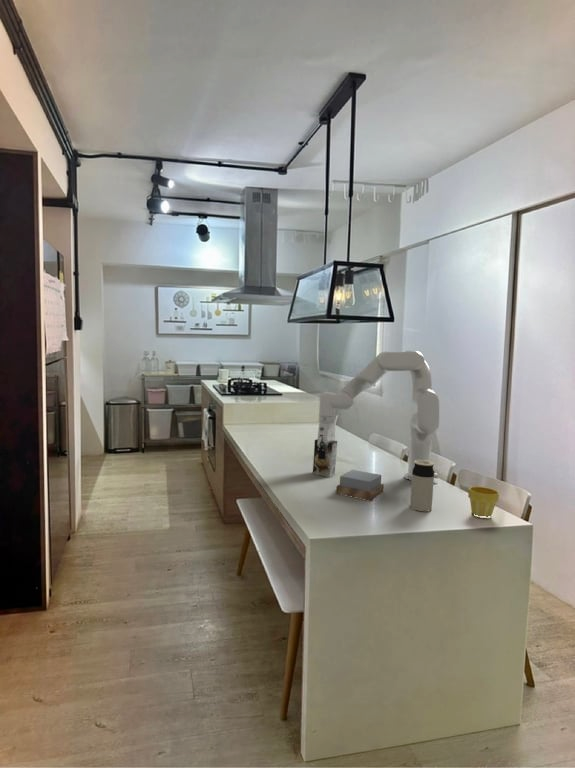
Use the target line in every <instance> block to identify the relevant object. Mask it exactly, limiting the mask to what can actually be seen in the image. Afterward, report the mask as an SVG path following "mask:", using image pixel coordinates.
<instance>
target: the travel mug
mask: <svg viewBox="0 0 575 768" xmlns="http://www.w3.org/2000/svg"><path fill="white" fill-rule="evenodd" d="M414 464H415V466H414V468H413V471H412V480H411V489H410V501H409V503H410V504H409V508H411V509H412V508H413V509H412V510H414V509H415V510H414V511H416V510H420V511H419V512H421V511H427V512H429V511H428V510H430V511H432V509H433V495H434V494H433V493H434V483H435V478H434V473H435V470H434V465H435V462H434V461H431V460H430V461H427V460H415V461H414Z"/></svg>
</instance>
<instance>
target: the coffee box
mask: <svg viewBox="0 0 575 768" xmlns="http://www.w3.org/2000/svg"><path fill="white" fill-rule="evenodd" d="M317 442H318V438H316V439H315V440H314V445H313V446H314V449H313V461H312V462H313V464H312V475H315V476H316V475H317V476H320V475H321V477H327V478H331V476H332V477H334V476H335V475H336V465H337V451H338V449H337V448H338V440H335V441H331V442H329V444H328V445H326V444H325V450H324V451H325V459H319V458H318V445H317ZM321 443H323V444H324V442H321ZM322 446H323V445H322Z"/></svg>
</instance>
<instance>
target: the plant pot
mask: <svg viewBox="0 0 575 768" xmlns="http://www.w3.org/2000/svg"><path fill="white" fill-rule="evenodd" d="M499 493H500V492H499V491H498V490H496V489H495V488H494V489H493V488H490V487H487V486H485V487H484V486H470V487H469V488H468V494H467V496H468V498H469V500H470V501H469V502H470V509H471V514H472V513H473V514H475V515H478V516H486V517H488V516H491V515H492V516H493V513H494V510H495V507H496V504H497V503H498V502H499V497H500V494H499ZM492 516H491V517H492Z"/></svg>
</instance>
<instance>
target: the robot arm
mask: <svg viewBox="0 0 575 768" xmlns="http://www.w3.org/2000/svg"><path fill="white" fill-rule="evenodd" d="M407 371H408V372H409V373H410V374H411V380H412V400H411V401H412V403H413V404H414V406H415V407H416V408H417V411H415V412H414V413H413V414H412V415H411V417H410V420H409V421H410V425H409V426H410V428H409V429H410V438H409V439H410V440H409V442H410V443H409V451H408V454H409V455H408V469H407V472H406V473H404V476H403V477H404V478H405V479H407V480H408V479H409V481H412V471H413V468H414V466H415V464H414V461H415V460H427V461H431V454H432V443H433V441H432V440H433V439H432V435H434V434H436V432H437V431H438V430H439V426H440V399H439V396H438V394H437V393H436V392H435V391H434V390H433V386H432V383H433V382H432V372H431V369H430V366H429V365H428V362H426V360H425V356H424V355H423V354H422V353H421V352H420V351H415V350H405V351H396V352H395V351H382V352H380V353H379V354H378V355H377V356H375V357H374V358H373V359H372V361H370V362H369V363H368V364H367V366H365V367H364V368H363V369H362V370H361V371H360V372H359V373H357V375H355V376H354V377H353V378H352V379H351V380H350V381H349V382H347V383H346V384H345V385H344V386H343V387H342V389H340V390H339V391H338V393H335V392H329V391H324V392H321V393H320V396H319V409H318V410H319V413H318V430H317V431H318V432H317V439H318V442H317V445H318V458H319V459H325V451H324V450H325V444H326V445H328V444H329V442H331V441H336V411H337V410H343V411H347V410H351V408H353V406H354V403H355V401H354V400H355V399H356V397H358V396H359V395H360V394H361V393H362V392H364V391H365V390H368V389H370V388H372V387H373V386H375V385H376V384H377V383H378V382H379V381H380V380H381V379H382V378H383V377H385V375H386V374H387V373H389V372H407ZM336 409H337V410H336ZM321 442H324V444H323V443H321ZM322 445H323V446H322ZM439 477H440V476H439V474H438V473H437V472H434V479H439Z"/></svg>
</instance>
